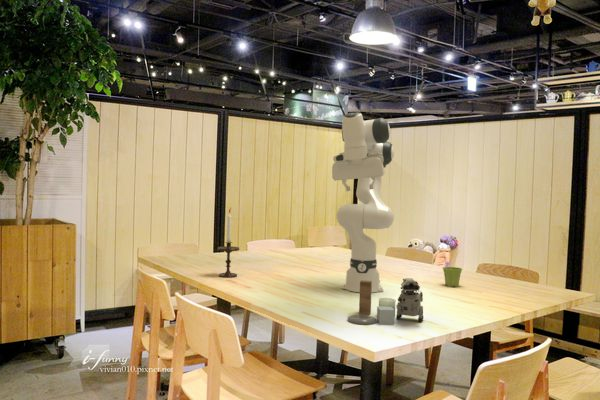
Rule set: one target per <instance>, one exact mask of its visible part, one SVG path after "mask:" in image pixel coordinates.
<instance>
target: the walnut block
mask: <svg viewBox="0 0 600 400" xmlns="http://www.w3.org/2000/svg"><path fill="white" fill-rule="evenodd" d="M371 292H372V281H369V280H361V281H360V292H359V299H358V300H359V307H358V315H366V316H371V313H372V293H373V292H372V293H371Z"/></svg>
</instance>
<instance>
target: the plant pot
mask: <svg viewBox="0 0 600 400" xmlns="http://www.w3.org/2000/svg"><path fill="white" fill-rule="evenodd" d="M462 270H463V268H462V267H459V266H458V267H457V266H444V267H442V271H443V273H444V283H445V286H446V287H450V288H453V287H456V288H457V287H459V285H460V279H461V273H462Z"/></svg>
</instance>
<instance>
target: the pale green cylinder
mask: <svg viewBox="0 0 600 400" xmlns="http://www.w3.org/2000/svg"><path fill="white" fill-rule="evenodd" d="M378 306H382V307H392V308H393V309H394V310H395V311H396V299H394V298H391V297H380V298H379V299H378ZM394 318H396V313H395V314H394Z"/></svg>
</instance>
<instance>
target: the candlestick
mask: <svg viewBox="0 0 600 400" xmlns="http://www.w3.org/2000/svg"><path fill="white" fill-rule="evenodd" d="M231 210H232V208H231V207H229V210H228V214H227V219H226V220H227V224H226V228H227V229H226V242H224V243H226V246H218V247H217V251H221V252H225V253H226V260H225V264H226V265H225V267H226V271H225V272H221V273H218V277H220V278H227V279H229V278H236V277H238V274H237V273H234V272H232V271H230V270H231V269H230V268H231V263H232V260H231V258H230V257H231V253H232V252H237V251H240V247H238V246H232V245H231V244H233V242H232V240H231V239H232V237H231V236H232V215H231Z"/></svg>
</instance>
